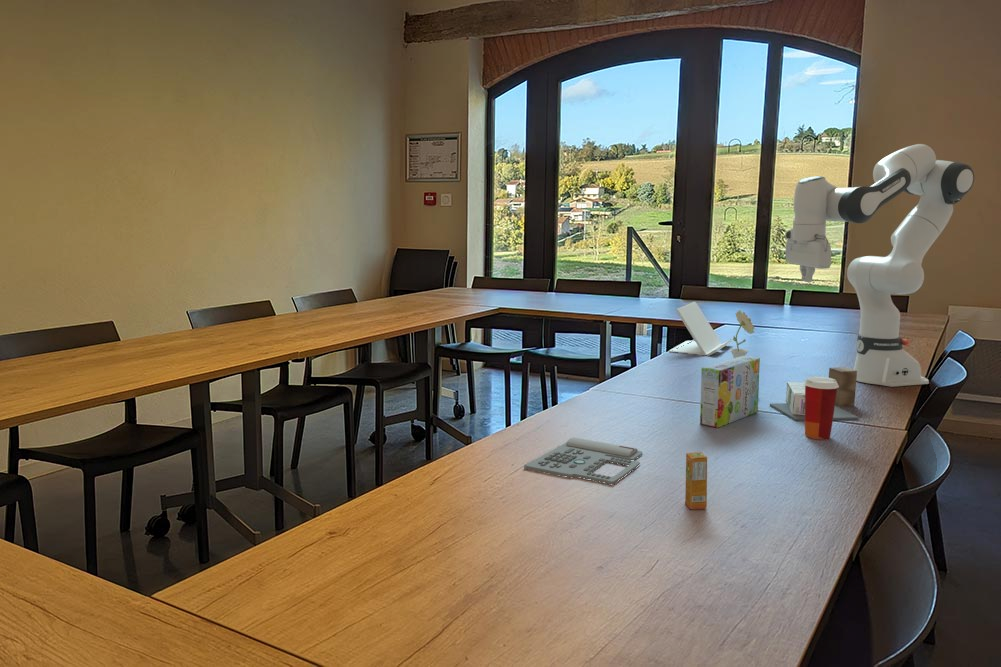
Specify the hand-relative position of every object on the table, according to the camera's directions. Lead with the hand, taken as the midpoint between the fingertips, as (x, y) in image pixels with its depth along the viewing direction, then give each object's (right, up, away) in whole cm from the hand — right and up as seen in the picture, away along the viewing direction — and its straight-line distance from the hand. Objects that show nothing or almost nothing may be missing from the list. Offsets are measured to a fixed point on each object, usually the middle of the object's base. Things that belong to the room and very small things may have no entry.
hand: (806, 281), depth 221 cm
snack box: (-30, -38, -24) cm, 54 cm away
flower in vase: (-21, -34, -1) cm, 40 cm away
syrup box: (-7, -31, -10) cm, 34 cm away
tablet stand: (-12, -22, +70) cm, 75 cm away
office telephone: (-70, -44, -57) cm, 100 cm away
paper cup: (-14, -40, -39) cm, 58 cm away
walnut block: (+5, -35, -10) cm, 37 cm away
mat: (-6, -36, -18) cm, 41 cm away
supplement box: (-54, -47, -81) cm, 108 cm away
